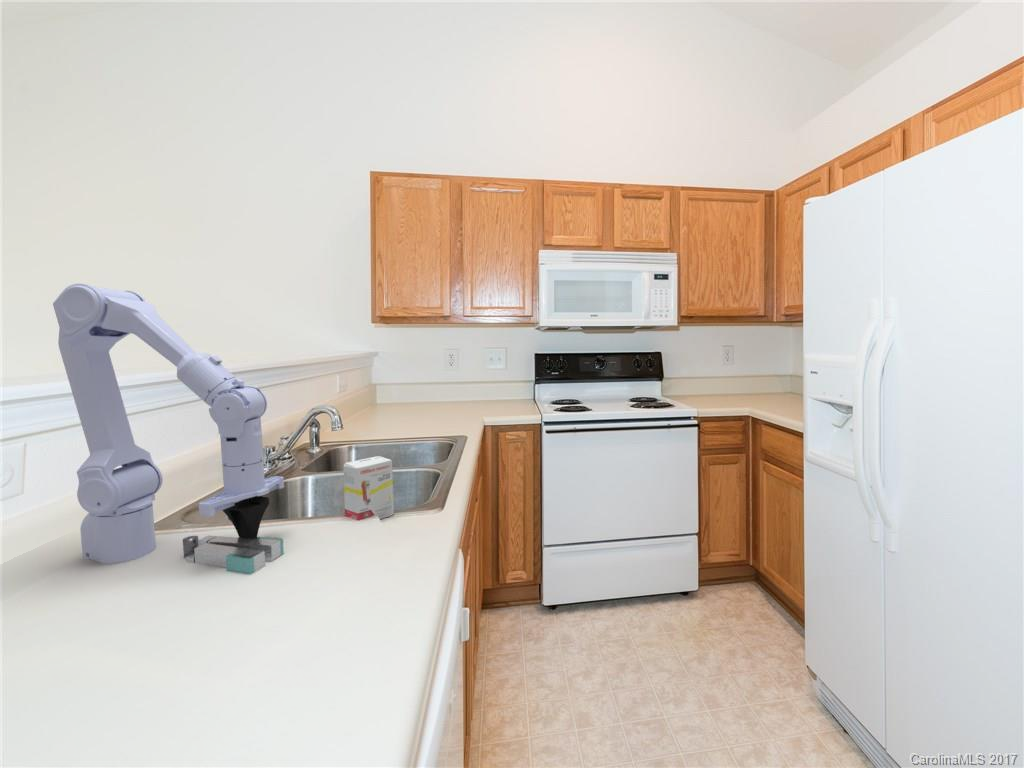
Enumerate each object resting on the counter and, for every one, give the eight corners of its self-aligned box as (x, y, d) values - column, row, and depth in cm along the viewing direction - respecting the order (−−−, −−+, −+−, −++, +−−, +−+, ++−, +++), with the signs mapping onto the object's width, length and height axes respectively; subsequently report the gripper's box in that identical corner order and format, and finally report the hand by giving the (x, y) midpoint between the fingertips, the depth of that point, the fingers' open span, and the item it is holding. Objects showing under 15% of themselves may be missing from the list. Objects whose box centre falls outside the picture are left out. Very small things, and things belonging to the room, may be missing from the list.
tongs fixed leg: (170, 563, 70) (168, 544, 70) (192, 552, 73) (191, 535, 73) (250, 575, 66) (249, 555, 65) (270, 563, 69) (269, 544, 69)
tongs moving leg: (198, 555, 72) (197, 540, 72) (212, 548, 74) (211, 533, 74) (271, 561, 70) (271, 545, 69) (283, 553, 72) (282, 538, 72)
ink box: (358, 528, 86) (355, 467, 85) (344, 522, 89) (341, 463, 88) (395, 515, 92) (393, 458, 92) (381, 510, 96) (379, 455, 95)
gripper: (223, 475, 64) (229, 567, 65) (296, 452, 78) (300, 528, 79) (185, 473, 66) (192, 562, 67) (263, 451, 80) (268, 525, 81)
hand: (248, 543), depth 73 cm, fingers closed
